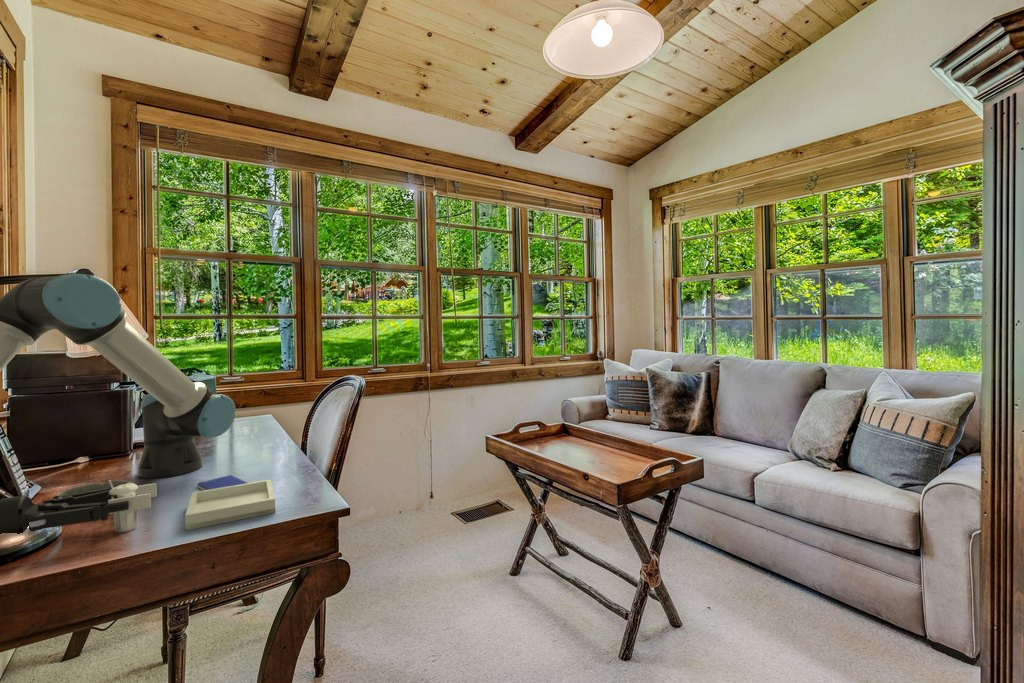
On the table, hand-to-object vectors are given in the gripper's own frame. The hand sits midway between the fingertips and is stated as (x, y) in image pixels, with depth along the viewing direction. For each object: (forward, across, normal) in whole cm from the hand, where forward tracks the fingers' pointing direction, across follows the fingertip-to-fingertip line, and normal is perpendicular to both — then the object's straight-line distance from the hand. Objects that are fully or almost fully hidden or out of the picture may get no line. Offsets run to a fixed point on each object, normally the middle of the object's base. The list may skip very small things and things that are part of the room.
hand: (153, 494), depth 99 cm
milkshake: (-5, 0, -6) cm, 8 cm away
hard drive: (+12, -19, -7) cm, 24 cm away
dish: (-13, -19, -6) cm, 24 cm away
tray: (+14, 0, -6) cm, 15 cm away
